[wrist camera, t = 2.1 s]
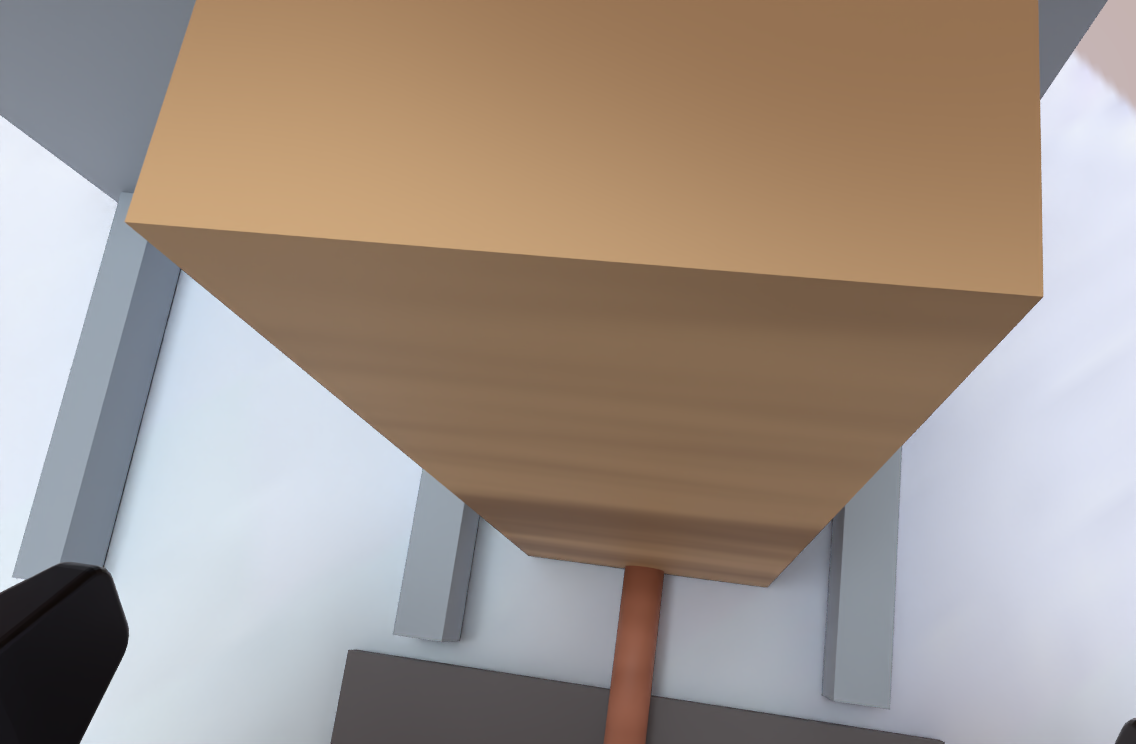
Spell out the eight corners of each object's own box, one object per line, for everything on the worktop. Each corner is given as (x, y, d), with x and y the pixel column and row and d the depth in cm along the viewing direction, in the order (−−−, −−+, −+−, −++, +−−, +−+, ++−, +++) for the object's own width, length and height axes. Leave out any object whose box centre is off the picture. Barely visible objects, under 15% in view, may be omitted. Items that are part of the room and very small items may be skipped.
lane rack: (899, 706, 18) (1144, 800, 8) (39, 577, 21) (-507, 537, 11) (919, 238, 20) (1126, -100, 11) (147, 181, 23) (-224, -125, 14)
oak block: (749, 822, 17) (1062, 1458, 3) (493, 778, 18) (-168, 1128, 4) (784, 357, 20) (1031, -400, 6) (562, 337, 21) (318, -378, 7)
